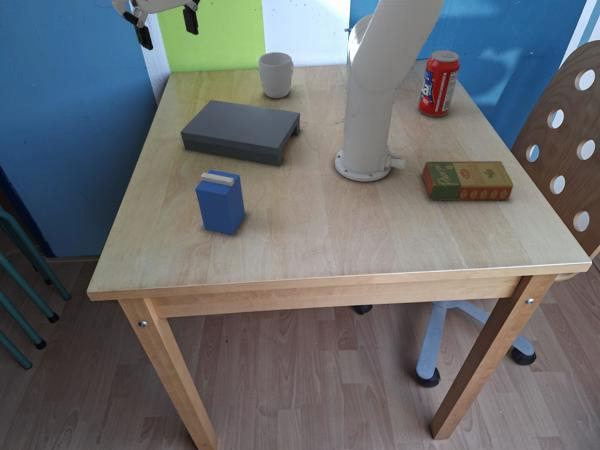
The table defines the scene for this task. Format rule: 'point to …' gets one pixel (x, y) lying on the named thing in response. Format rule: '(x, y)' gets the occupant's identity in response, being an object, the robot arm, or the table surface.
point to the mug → (276, 73)
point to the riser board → (241, 131)
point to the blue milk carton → (220, 201)
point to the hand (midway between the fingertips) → (170, 40)
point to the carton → (467, 180)
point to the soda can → (439, 83)
